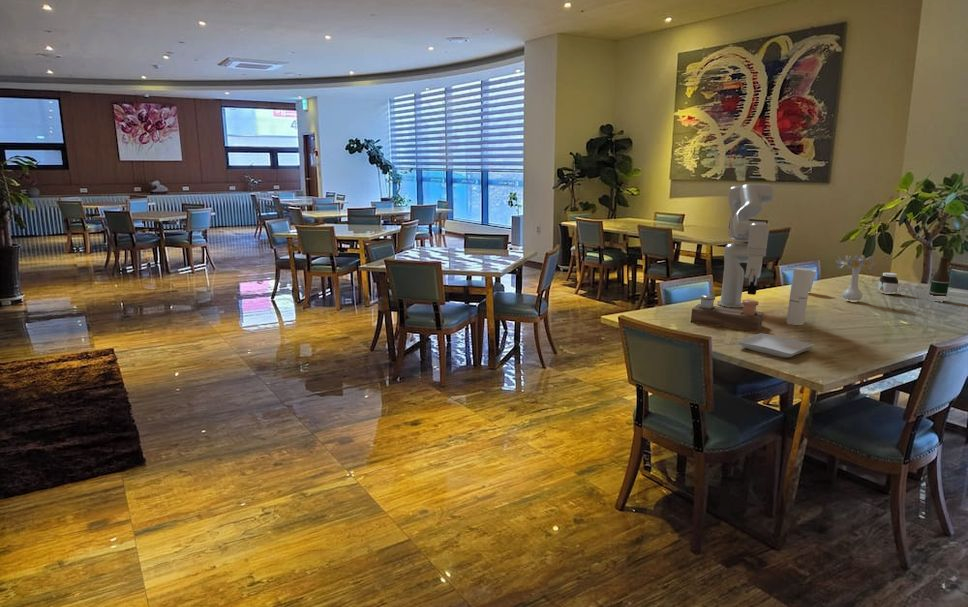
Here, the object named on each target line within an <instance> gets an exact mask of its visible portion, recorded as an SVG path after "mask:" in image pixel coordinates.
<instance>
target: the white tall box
mask: <svg viewBox="0 0 968 607" xmlns="http://www.w3.org/2000/svg"><path fill="white" fill-rule="evenodd" d="M812 270H813V269H812ZM812 270H811V268H805V267H793V271H792V277H791V278H792V279H791V286H790V292H789V299H788V307H787V315H786V316H787V317H786V322H787V323H788V324H787V323H786V324H787V325H789V324H793V325H792V326H794V325H802V324H804V325H805V319H806V312H807V305H808V299H809V294H808V292H809V285H810V278H811V271H812Z"/></svg>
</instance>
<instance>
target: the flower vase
mask: <svg viewBox="0 0 968 607" xmlns="http://www.w3.org/2000/svg"><path fill="white" fill-rule="evenodd" d="M851 257H852V256H851V255H849V256H848V254H846V255H845V257H844V260H842V259H841V257H840V256H837V259H835V264H838V265H837V267H836V270H839V269H840V270H842V268H843V267H845V266H846V269H847V270H852V275H851V280H850V283H849V286H848V287H847V288H846V289H845V290H844V291H843V292H842V294H841V296H842V298H843V299H844V298H845V299H848V300H858V301H860V300H861V299H863V296H864V295H863V293H862V292H861V290H860V289H859V276H860V272H861V269H862V268H866V269H867V268H868V269H869V270H870V271H872V270H873V267H874V266H877V263H876V262H874V261H872V259H873V257H872V256H871V255H870V256H868V257H867V258H866V256H865V255H864V254H861V258H859V257H858V254H855V255H854V257H853V258H851ZM845 299H844V300H845Z"/></svg>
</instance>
